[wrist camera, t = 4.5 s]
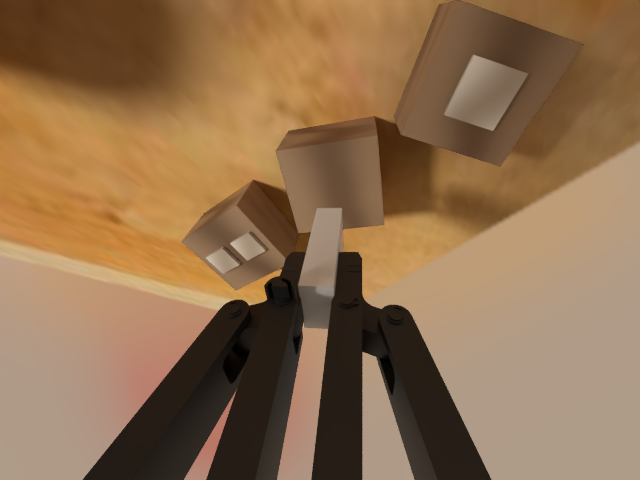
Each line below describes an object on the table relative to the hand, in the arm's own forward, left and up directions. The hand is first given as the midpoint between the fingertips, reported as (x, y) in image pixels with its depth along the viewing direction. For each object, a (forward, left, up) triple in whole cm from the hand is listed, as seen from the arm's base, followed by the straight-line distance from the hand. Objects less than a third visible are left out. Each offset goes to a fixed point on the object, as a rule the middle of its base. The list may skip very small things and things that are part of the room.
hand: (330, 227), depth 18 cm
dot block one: (+9, +6, -10) cm, 14 cm away
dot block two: (-9, -6, -10) cm, 15 cm away
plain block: (0, 0, -10) cm, 10 cm away
